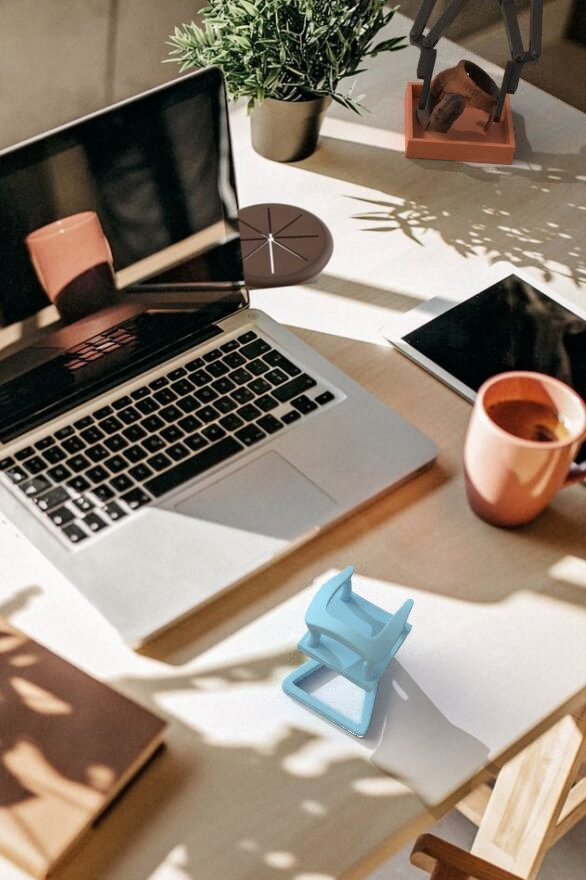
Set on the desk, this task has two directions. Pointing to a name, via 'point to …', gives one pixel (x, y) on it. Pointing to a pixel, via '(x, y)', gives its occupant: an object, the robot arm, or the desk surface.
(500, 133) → the terracotta tray
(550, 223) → the desk surface
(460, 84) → the broken clay pot
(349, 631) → the chair
